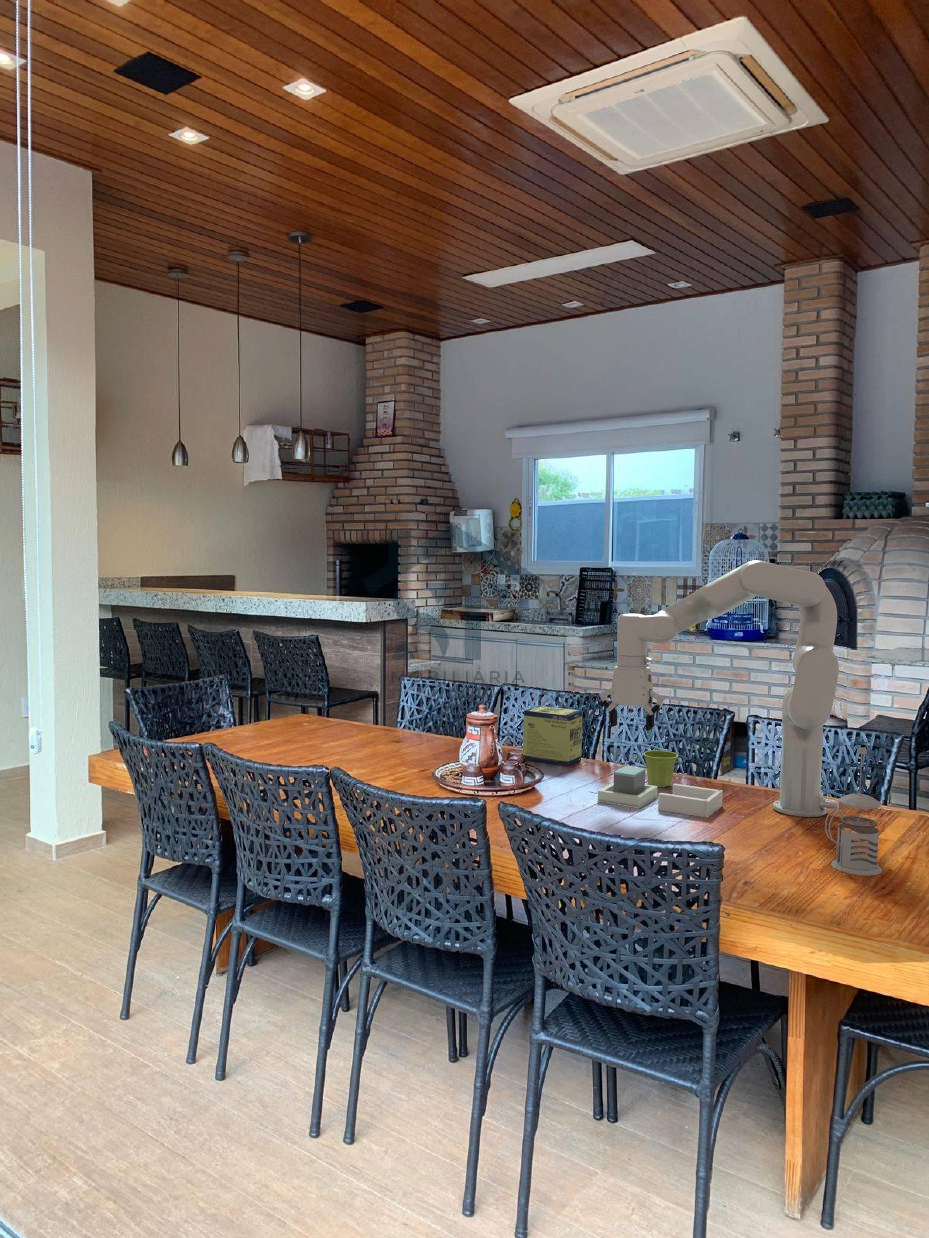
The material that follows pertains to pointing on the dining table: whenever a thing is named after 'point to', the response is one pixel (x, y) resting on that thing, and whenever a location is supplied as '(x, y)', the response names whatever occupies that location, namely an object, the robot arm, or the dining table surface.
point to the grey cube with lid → (629, 780)
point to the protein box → (552, 735)
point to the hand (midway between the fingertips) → (631, 727)
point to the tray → (627, 796)
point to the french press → (857, 835)
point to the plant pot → (660, 767)
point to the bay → (691, 800)
